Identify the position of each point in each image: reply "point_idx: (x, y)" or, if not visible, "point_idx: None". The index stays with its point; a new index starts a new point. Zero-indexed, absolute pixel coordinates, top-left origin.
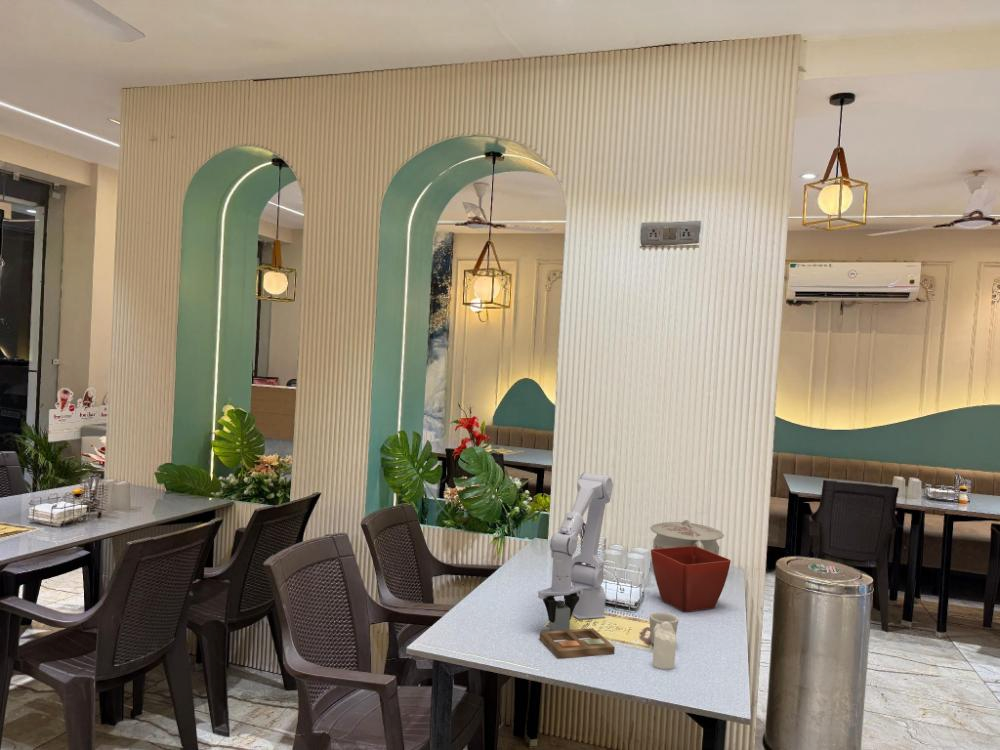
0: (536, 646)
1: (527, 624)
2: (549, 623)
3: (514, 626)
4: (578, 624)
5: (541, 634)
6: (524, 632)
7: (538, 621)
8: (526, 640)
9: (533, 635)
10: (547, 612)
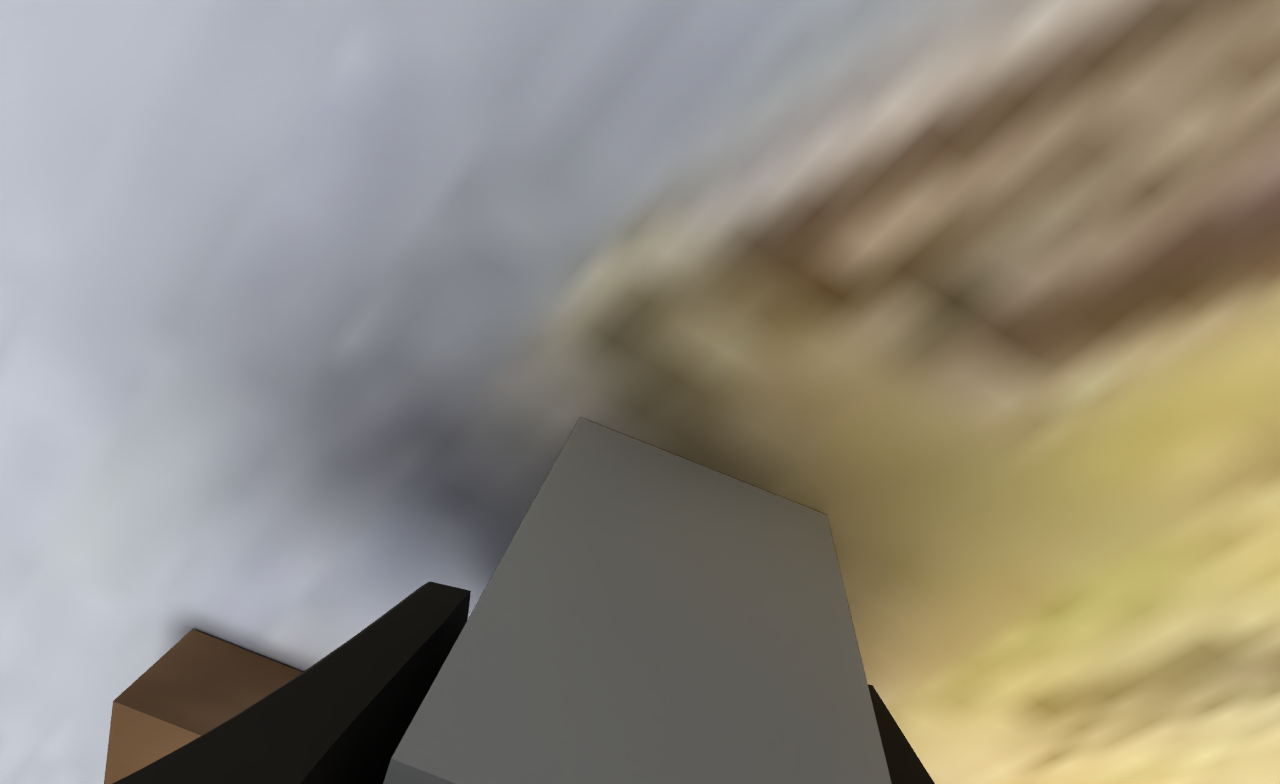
0: (58, 740)
1: (324, 61)
2: (559, 457)
3: (44, 12)
4: (1162, 583)
5: (115, 743)
6: (101, 341)
7: (627, 40)
8: (13, 565)
9: (178, 499)
10: (305, 680)
